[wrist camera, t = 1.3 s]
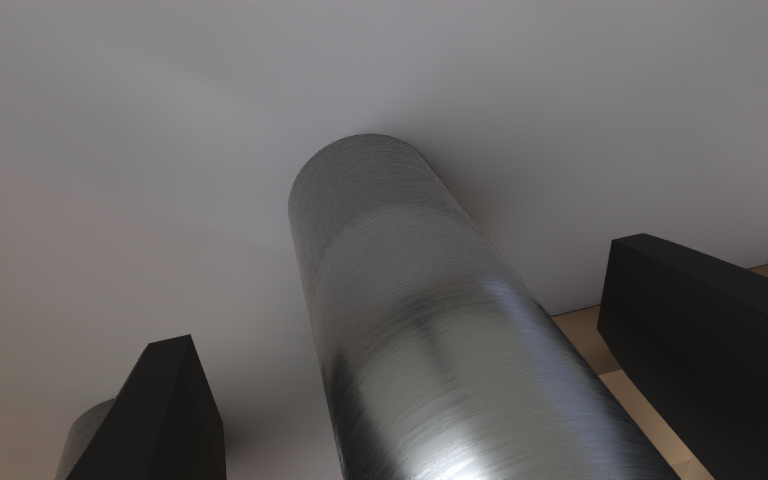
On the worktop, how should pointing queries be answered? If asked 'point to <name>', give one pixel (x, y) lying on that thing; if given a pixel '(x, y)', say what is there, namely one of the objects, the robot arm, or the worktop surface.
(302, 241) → the long pin
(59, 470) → the short pin
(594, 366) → the hole plate
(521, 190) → the worktop surface
